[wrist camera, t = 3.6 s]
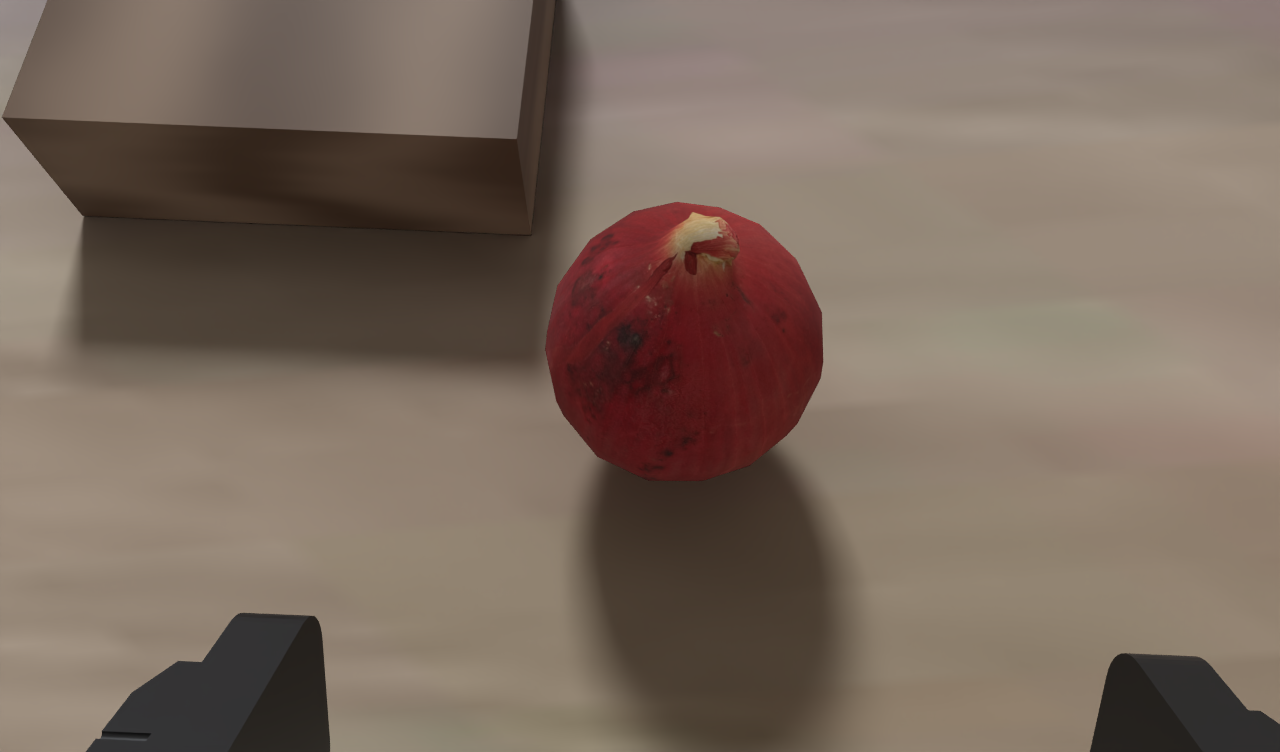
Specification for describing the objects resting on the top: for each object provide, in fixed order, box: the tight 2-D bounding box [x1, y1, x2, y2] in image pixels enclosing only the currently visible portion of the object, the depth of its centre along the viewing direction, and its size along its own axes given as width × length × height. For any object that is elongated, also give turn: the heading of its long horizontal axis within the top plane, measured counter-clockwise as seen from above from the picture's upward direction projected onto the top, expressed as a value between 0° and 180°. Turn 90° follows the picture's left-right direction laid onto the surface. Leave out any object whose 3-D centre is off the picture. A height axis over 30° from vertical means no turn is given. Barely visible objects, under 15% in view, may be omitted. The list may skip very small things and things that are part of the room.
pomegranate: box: [545, 202, 823, 481], centre depth 22 cm, size 6×6×8 cm
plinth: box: [2, 0, 556, 235], centre depth 28 cm, size 12×10×4 cm
